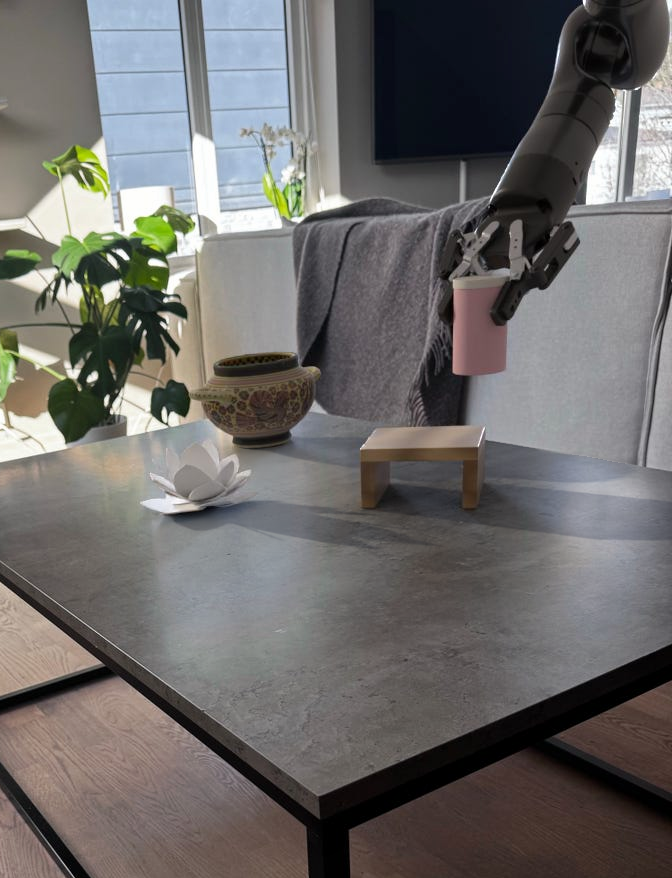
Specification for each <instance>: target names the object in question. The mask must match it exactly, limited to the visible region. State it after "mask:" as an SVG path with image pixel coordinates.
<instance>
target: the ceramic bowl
mask: <svg viewBox="0 0 672 878" xmlns="http://www.w3.org/2000/svg"><path fill="white" fill-rule="evenodd" d="M212 369H213V375H212V376H211V377H210V378H209V379H208V380H207V381H206V382H205V384H204V385H203V387H200V388H195V389H192V390H190V391H189V392H188V397H189V398H190V399H191V400H194V401H197V402H201V408H202V410H203V412H204V414H205V416H206V418H207V419H208V420H209V421H210V422H211V423H212V424H213V426H215V427H216V428H217V429H218V430H220V431H221V432H224V433H225V434H227V435H229V436H231V437H232V441H231V443H232V444H233V446H235V447H238V448H241V449H242V448H243V449H258V448H259V449H260V448H261V449H262V448H271V447H275V446H280V445H283V444H286V443H287V442H289V441H290V440H291V439H292V433H291V430H292V429H293V428H295V427H296V426H297V425H298V424H299V423H300V422H301V421H302V420H304V418H305V417H306V415H307V414H308V413H309V412H310V410H311V408H312V406H313V404H314V402H315V398H316V393H317V385H316V382H317V381H318V380H319V378H320V377H321V375H322V372H321V369H320V368H318V367H316V366H305V367H303V366H301V365H300V363H299V354H298V353H297V352H293V351H270V352H268V351H267V352H258V353H257V352H256V353H244V354H242V355H235V356H230V357H225V358H221V359H219V360H217V361H215V362H214V363H213V365H212Z"/></svg>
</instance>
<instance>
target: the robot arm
mask: <svg viewBox="0 0 672 878" xmlns="http://www.w3.org/2000/svg"><path fill="white" fill-rule="evenodd" d="M670 20H671V19H670V12H669V6H668V0H582V4H581V5H579V6H577V8H575V9H574V10H573V11H572V12H571V13H570V14H569V15H568V17H567V19H566V21H565V22H564V23H563V26H562V29H561V32H560V36H559V41H558V43H557V51H556V57H555V64H554V70H553V74H552V75H553V76H552V79H551V82H550V85H549V89H548V90H547V93H546V96H545V98H544V100H543V103H542V105H541V107H540V108H539V110H538V112H537V114H536V116H535V118H534V120H533V122H532V124H531V126H530V127H529V129H528V131H527V132H526V133H525V135H524V136H523V137H522V139H521V141H520V142H519V144H518V146H517V147H516V149H515V151H514V153H513V154H512V157H511V158H510V161H509V162H508V164H507V167H506V169H505V170H504V172H503V174H502V176H501V178H500V180H499V182H498V184H497V186H496V188H495V189H494V191H493V193H492V195H491V197H490V200H489V204H488V209H487V214H486V217H485V219H484V220H483V221H482V223H480V224H479V225H478V226H477V227H476V228H475V231H472V232H468V233H463V232H462V231H461V229H458V228H456V229H453V230H452V231H451V232H450V233H449V234H448V239H447V242H446V244H445V247H444V251H443V254H442V257H441V260H440V263H439V266H438V269H437V272H436V275H437V277H438V278H439V280H440V281H441V283H442V285H443V286H444V288H445V289H446V290H445V291H444V293H443V295H442V297H441V299H440V301H439V303H438V305H437V308H436V309H437V310H436V312H437V316H438V318H439V319H440V321H441V322H442V324H443V325H444V326H453V318H454V288H453V280H454V279H456V278H461V277H466V275H467V274H468V273H469V272H470V274H469V276H476V275H487V274H493V273H494V272H495V271H498V270H502V269H507V270H509V274H510V281H506V282H505V284H504V285H503V287H502V289H501V291H500V293H499V295H498V297H497V298H496V300H495V302H494V304H493V306H492V308H491V310H490V317H491V319H492V320H493V322H494V324H495V325H496V326H505V324H506V322H507V321H508V322H509V321H510V320H511V319H512V318H513V317H514V316H515V314H516V312H517V310H518V308H519V306H520V304H521V302H522V300H523V298H524V297H525V296H526V295H528V294H529V293H530V292H531V291H532V290H534V289H538V290H539V291H544V290H547V289H548V288H549V287H550V286H551V284H552V283H553V282H554V280H555V279H556V277H557V276H558V275H559V274H560V272H561V271H562V269H563V268H564V266H566V264H567V263H568V261H569V260H570V258H571V257H572V255H573V254H574V253H575V252H576V250H577V249H578V248H579V246H580V244H581V239H580V237H579V234H578V231H577V230H576V227H575V226H574V224H573V222H572V221H570V220H567V221H565V220H566V217H567V215H568V213H569V211H570V210H571V207H572V205H573V204H574V201H575V199H576V198H577V195H578V194H579V192H580V190H581V188H582V186H583V184H584V182H585V180H586V178H587V176H588V174H589V171H590V169H591V166H592V162H593V159H594V157H595V155H596V153H597V151H598V149H599V147H600V145H601V144H602V141H603V140H604V137H605V135H606V133H607V132H608V129H609V127H610V126H611V123H612V122H613V119H614V116H615V114H616V109H617V98H616V95H615V93H614V91H613V90H617V91H622V92H623V91H624V92H632V91H636V90H638V89H641V88H643V87H644V86H646V85H647V84H648V83H649V82H650V81H652V80H653V79H654V78H655V76H656V75H657V74H658V72H659V71H660V69H661V67H662V66H663V64H664V62H665V58H666V56H667V54H668V48H669V43H670V38H671V36H670V35H671V23H670ZM538 254H539V255H538ZM537 255H538V256H537ZM479 258H480V260H481V262H482V263H483V265H481V263H480V261H479Z"/></svg>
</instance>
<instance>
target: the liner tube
mask: <svg viewBox="0 0 672 878" xmlns="http://www.w3.org/2000/svg"><path fill="white" fill-rule="evenodd" d="M510 280H511V279H510V273H492V274H487V275H476V276H470V275H467V276H464V277H461V278H456V279H454V280H453V288H454V318H453V325H452V326H453V329H452V331H453V332H452V333H453V334H452V374H454V375H457V376H486V375H494V374H499V373H502V372H504V371H506V370H507V351H508V349H507V348H508V347H507V345H508V324H509V323H508V322H509V321H507V322H506V324H505V326H496V325H495V324H494V322H493V320H492V319H491V317H490V310H491V308H492V306H493V304H494V302H495V300H496V298H497V297H498V295H499V293H500V291H501V289H502V287H503V285H504V284H505V282H506V281H510Z"/></svg>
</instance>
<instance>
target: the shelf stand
mask: <svg viewBox="0 0 672 878" xmlns="http://www.w3.org/2000/svg"><path fill="white" fill-rule="evenodd" d="M486 428H487V426H486V424H478V425H477V424H476V425H475V424H474V425H472V424H471V425H444V426H443V425H439V426H407V427H406V426H404V427H403V426H402V427H400V426H399V427H377V428H375V429H374V431H373V432H372V433H371V435H370V436H369V437H368V439H367V440H366V441H365V443H364V444H363V445H362V446H361V447H360V448H359V461H360V493H361V495H360V499H361V501H360V502H361V503H360V504H361V509H376V508H377V505H378V504H379V502H380V500H381V499H382V497H383V496H384V494H385V492H386V490H387V489H388V487H389V486H390V484H391V462H451V461H453V462H455V461H458V462H460V461H462V495H461V497H462V498H461V499H462V500H461V501H462V503H461V506H462V507H461V508H462V509H465V510H466V509H468V510H469V509H470V510H472V509H478V505H479V502H480V499H481V496H482V495H481V494H482V491H483V487H484V485H485V468H486V467H485V465H486V464H485V462H486V461H485V460H486V433H487V432H486V430H487V429H486Z"/></svg>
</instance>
